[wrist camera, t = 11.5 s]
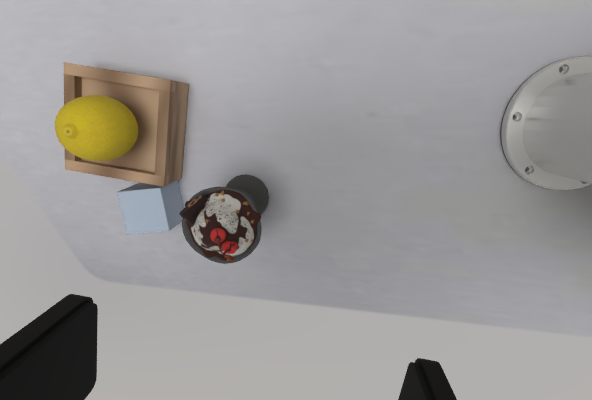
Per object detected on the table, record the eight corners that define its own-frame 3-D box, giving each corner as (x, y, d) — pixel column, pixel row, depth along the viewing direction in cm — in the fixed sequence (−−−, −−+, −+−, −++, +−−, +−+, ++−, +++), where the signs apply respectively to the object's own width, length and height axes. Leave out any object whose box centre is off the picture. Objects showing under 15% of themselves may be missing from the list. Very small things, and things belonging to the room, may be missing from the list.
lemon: (113, 162, 35) (54, 177, 27) (88, 108, 34) (18, 108, 26) (162, 144, 34) (115, 154, 26) (138, 88, 33) (81, 81, 25)
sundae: (282, 219, 39) (260, 284, 24) (225, 229, 40) (170, 298, 25) (270, 161, 37) (237, 194, 23) (210, 173, 38) (142, 212, 24)
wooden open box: (188, 83, 36) (170, 80, 31) (181, 177, 38) (163, 186, 34) (94, 68, 36) (63, 62, 32) (93, 162, 39) (65, 169, 34)
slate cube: (178, 179, 39) (160, 187, 34) (185, 217, 40) (169, 230, 35) (139, 182, 39) (116, 192, 35) (148, 221, 40) (127, 234, 36)
